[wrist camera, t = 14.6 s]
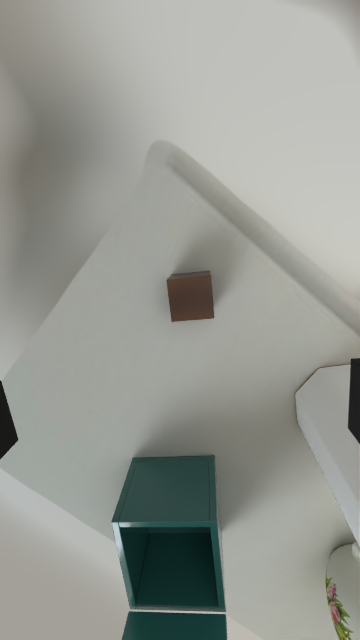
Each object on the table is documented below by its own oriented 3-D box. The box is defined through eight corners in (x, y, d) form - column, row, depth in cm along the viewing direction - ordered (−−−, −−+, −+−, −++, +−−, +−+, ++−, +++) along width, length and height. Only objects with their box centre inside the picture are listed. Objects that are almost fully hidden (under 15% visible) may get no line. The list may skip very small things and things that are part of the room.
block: (171, 274, 34) (166, 279, 30) (210, 270, 34) (210, 275, 29) (175, 311, 35) (171, 321, 31) (213, 308, 35) (214, 318, 30)
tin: (132, 457, 42) (111, 522, 32) (214, 455, 40) (217, 521, 31) (145, 532, 45) (129, 609, 36) (221, 531, 44) (225, 612, 34)
